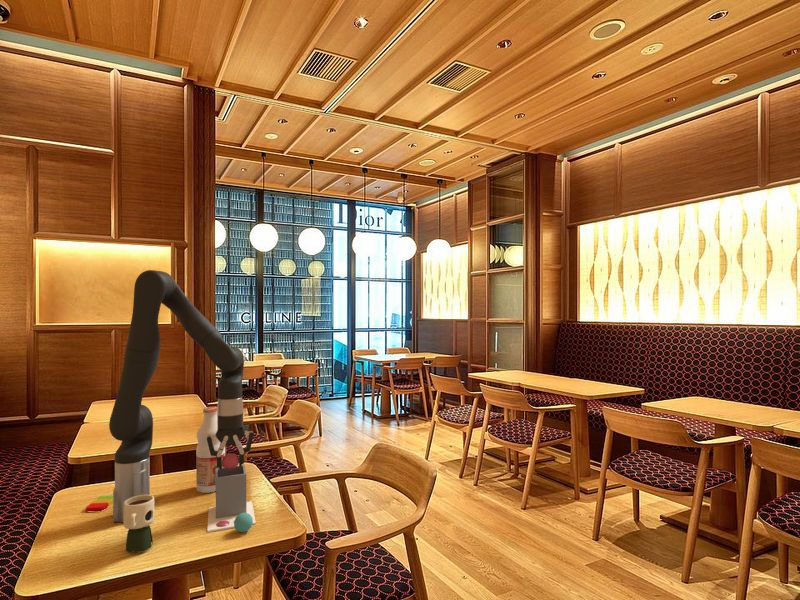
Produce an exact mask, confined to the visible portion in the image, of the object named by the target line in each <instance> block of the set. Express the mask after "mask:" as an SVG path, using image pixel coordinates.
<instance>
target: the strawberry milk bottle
mask: <svg viewBox="0 0 800 600" xmlns="http://www.w3.org/2000/svg"><path fill="white" fill-rule="evenodd" d="M202 414H203V420H202V423H201V425H200V426H199V427H198V429H197V431H196V439H197V445H196V452H195V453H196V454H195V455H196V458H195V459H196V461H195V463H196V465H195V466H196V472H195V473H196V474H195V476H196V490H197V492H199V493H202V494H211V493H216V492H215V491H216V469H217V468H219V467H217V457H216V456H211V454H210V450H209V446H208V442H207V436H208V435H214V434H216V432H217V406H207V407H204V408H203V409H202ZM220 443H221V442H220V441H219V440H218V439H217V438H215V441H214V442H213V446H214V450H215V451H218V449H219V446H220ZM221 455H222V459H223V457H224V456H225V455H226V446H225V447H224V450H223V452H222V454H221ZM222 468H224V467H223V465H222ZM210 492H211V493H210Z"/></svg>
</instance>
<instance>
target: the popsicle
mask: <svg viewBox="0 0 800 600" xmlns="http://www.w3.org/2000/svg"><path fill="white" fill-rule="evenodd" d="M109 505H110V506H111V505H113V492H112V493H111V494H109V495H105V496H104V495H102V496H98V497H97V498H96V499H94V500H92V502H91V503H89V504H88V505H87V506H86V507H85V512H86V511H100V512H103V511H102V510H104V509H105V510H107V508H109V507H110V506H109ZM108 506H109V507H108ZM105 510H104V511H105Z"/></svg>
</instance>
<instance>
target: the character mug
mask: <svg viewBox="0 0 800 600" xmlns="http://www.w3.org/2000/svg"><path fill="white" fill-rule="evenodd" d="M154 521H155V496H153V495H151V494H150V495H138V496H134V497H131V498H129V499H127V500H126V501H124V522H123V527H124V528H125V529H127V534H126V541H125V542H126V543H125V552H127V553H143V552H145V551H148V550H149V549H151V548H152V545H154V542H153V541H154V540H153V534H152V529H151V526H150V525H151V524H153V523H154Z"/></svg>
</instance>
